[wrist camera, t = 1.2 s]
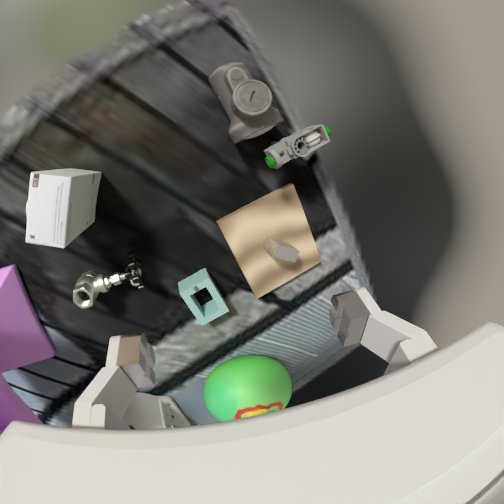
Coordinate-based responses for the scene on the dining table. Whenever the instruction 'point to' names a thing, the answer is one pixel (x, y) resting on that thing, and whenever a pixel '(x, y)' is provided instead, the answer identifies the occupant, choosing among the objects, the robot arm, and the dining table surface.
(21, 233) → the dining table surface
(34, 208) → the skincare box
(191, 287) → the teal collar
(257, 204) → the oak plate
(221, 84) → the pipe fitting
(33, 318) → the chair
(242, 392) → the toy bird
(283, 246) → the steel key shaft
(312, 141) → the mechanical component
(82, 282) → the valve
